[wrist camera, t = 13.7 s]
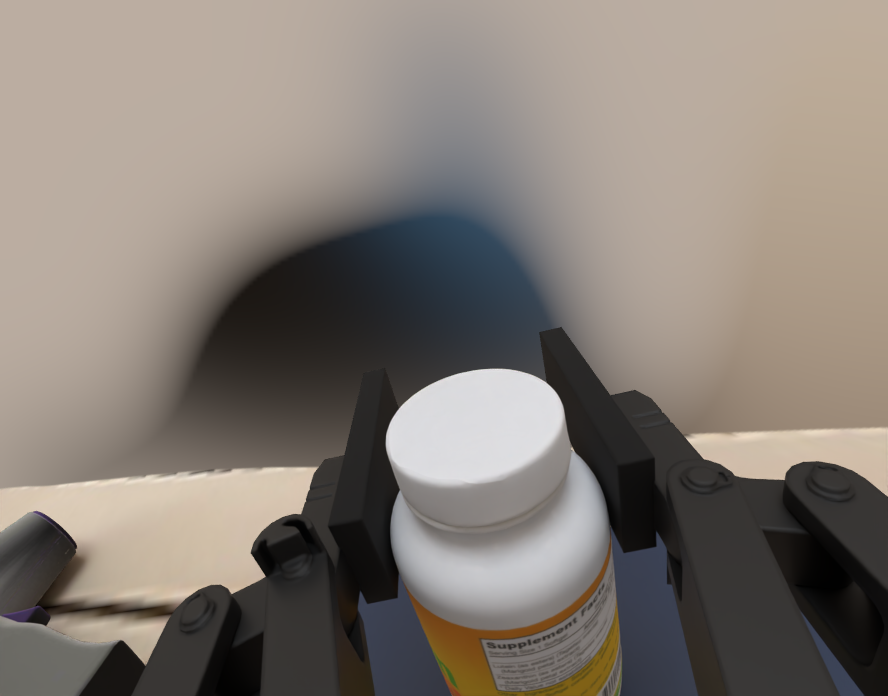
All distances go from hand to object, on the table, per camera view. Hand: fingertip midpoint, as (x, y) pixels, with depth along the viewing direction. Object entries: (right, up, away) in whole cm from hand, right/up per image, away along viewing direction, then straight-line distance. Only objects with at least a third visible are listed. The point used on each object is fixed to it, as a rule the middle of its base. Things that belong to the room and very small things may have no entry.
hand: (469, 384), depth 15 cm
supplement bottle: (+2, -9, -1) cm, 9 cm away
